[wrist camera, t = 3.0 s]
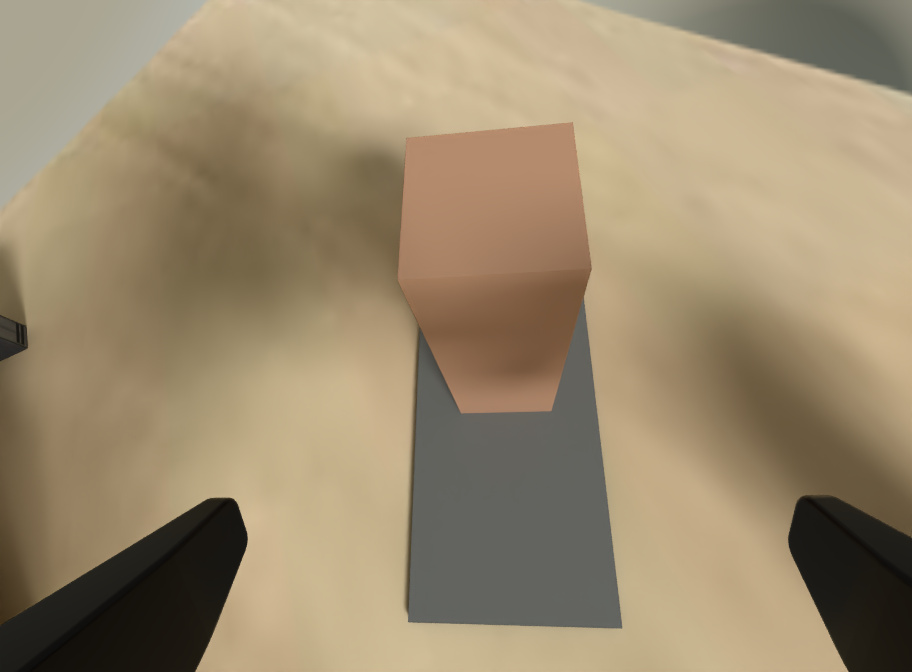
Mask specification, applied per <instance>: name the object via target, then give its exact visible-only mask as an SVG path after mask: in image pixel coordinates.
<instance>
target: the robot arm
mask: <svg viewBox="0 0 912 672" xmlns="http://www.w3.org/2000/svg"><path fill="white" fill-rule="evenodd" d="M247 541H248V536H247V531H246V528H245V525H244V522H243V519H242V516H241V513H240V510H239V507H238V504H237V502H236V501H235V500H234V499H232V498H210V499H207V500H205V501H203V502H202V503H200V504H199V505H197V506H195V507H194V508H192V509H190V510H189V511H187V512H185V513H184V514H182V515H181V516H179V517H177V518H176V519H174V520H172V521H171V522H169V523H167V524H166V525H164V526H163V527H161V528H159V529H158V530H156V531H154V532H153V533H151V534H149V535H148V536H146V537H144V538H143V539H141V540H140V541H138V542H136V543H135V544H133V545H131V546H130V547H128V548H126V549H125V550H123V551H122V552H120V553H118V554H117V555H115V556H113V557H112V558H110V559H108V560H107V561H105V562H104V563H102V564H100V565H99V566H97V567H95V568H94V569H92V570H90V571H89V572H87V573H86V574H84V575H82V576H81V577H79V578H77V579H76V580H74V581H72V582H71V583H69V584H68V585H66V586H64V587H63V588H61V589H59V590H58V591H56V592H54V593H53V594H51V595H50V596H48V597H46V598H45V599H43V600H41V601H40V602H38V603H36V604H35V605H33V606H32V607H30V608H28V609H27V610H25V611H23V612H22V613H20V614H18V615H17V616H15V617H13V618H12V619H10V620H9V621H7V622H5V623H4V624H2V625H0V672H195V671H196V669H197V667H198V665H199V663H200V661H201V659H202V657H203V654H204V652H205V650H206V648H207V646H208V644H209V642H210V639H211V637H212V635H213V632H214V630H215V627H216V625H217V622H218V620H219V617H220V615H221V612H222V610H223V607H224V604H225V602H226V599H227V597H228V594H229V592H230V589H231V586H232V584H233V581H234V579H235V576H236V574H237V571H238V568H239V566H240V563H241V561H242V558H243V555H244V553H245V550H246V547H247ZM788 543H789V548H790V552H791V554H792V557H793V559H794V561H795V563H796V565H797V567H798V569H799V571H800V573H801V576H802V578H803V580H804V582H805V584H806V586H807V588H808V590H809V592H810V594H811V597H812V599H813V601H814V603H815V605H816V607H817V609H818V611H819V613H820V616H821V618H822V620H823V622H824V624H825V626H826V628H827V630H828V632H829V634H830V637H831V639H832V641H833V643H834V645H835V647H836V649H837V651H838V653H839V655H840V657H841V659H842V661H843V663H844V664H845V666H846V668H847V670H848V672H912V538H911V537H910V536H908V535H906V534H904V533H902V532H900V531H898V530H896V529H895V528H893V527H891V526H889V525H887V524H885V523H883V522H881V521H880V520H878V519H876V518H874V517H872V516H870V515H868V514H866V513H865V512H863V511H861V510H859V509H857V508H855V507H853V506H851V505H850V504H848V503H846V502H844V501H842V500H840V499H838V498H836V497H834V496H829V495H805V496H802V497H800V498H799V499H798V500H797V503H796V507H795V511H794V515H793V519H792V523H791V527H790V531H789V536H788Z"/></svg>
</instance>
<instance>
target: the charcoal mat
mask: <svg viewBox="0 0 912 672" xmlns="http://www.w3.org/2000/svg"><path fill="white" fill-rule="evenodd" d="M408 622H416V623H451V624H485V625H519V626H554V627H588V628H622V621H621V613H620V604H619V596H618V587H617V578H616V570H615V561H614V553H613V544H612V536H611V527H610V519H609V510H608V502H607V493H606V484H605V476H604V467H603V459H602V450H601V442H600V433H599V425H598V416H597V408H596V399H595V390H594V382H593V373H592V365H591V356H590V348H589V339H588V331H587V322H586V314H585V305H584V297H583V301H582V304H581V308H580V311H579V315H578V318H577V322H576V325H575V329H574V333H573V336H572V340H571V343H570V347H569V350H568V354H567V357H566V361H565V364H564V368H563V372H562V375H561V379H560V382H559V386H558V389H557V393H556V396H555V400H554V403H553V407H552V411H540V412H498V413H461V412H460V410H459V408H458V406H457V404H456V402H455V400H454V397H453V395H452V393H451V391H450V389H449V387H448V385H447V383H446V381H445V379H444V376H443V374H442V372H441V370H440V368H439V366H438V364H437V362H436V360H435V358H434V355H433V353H432V351H431V349H430V347H429V345H428V343H427V341H426V339H425V337H424V334H423V332H422V330H421V328H420V337H419V363H418V388H417V413H416V438H415V464H414V489H413V514H412V539H411V565H410V590H409V615H408Z"/></svg>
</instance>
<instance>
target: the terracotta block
mask: <svg viewBox="0 0 912 672" xmlns="http://www.w3.org/2000/svg"><path fill="white" fill-rule="evenodd" d="M591 269H592V268H591V261H590V253H589V245H588V237H587V229H586V222H585V214H584V206H583V198H582V190H581V183H580V175H579V167H578V159H577V151H576V144H575V136H574V128H573V122H572V123H561V124H551V125H540V126H529V127H519V128H508V129H498V130H487V131H476V132H466V133H455V134H445V135H434V136H424V137H413V138H407V139H406V155H405V171H404V187H403V202H402V218H401V234H400V250H399V265H398V282H399V284H400V286H401V288H402V290H403V292H404V295H405V297H406V299H407V301H408V303H409V305H410V307H411V309H412V311H413V313H414V316H415V318H416V320H417V322H418V324H419V326H420V328H421V330H422V332H423V334H424V337H425V339H426V341H427V343H428V345H429V347H430V349H431V351H432V353H433V355H434V358H435V360H436V362H437V364H438V366H439V368H440V370H441V372H442V374H443V376H444V379H445V381H446V383H447V385H448V387H449V389H450V391H451V393H452V395H453V397H454V400H455V402H456V404H457V406H458V408H459V410H460V412H461V413H498V412H540V411H552V407H553V403H554V400H555V396H556V393H557V389H558V386H559V382H560V379H561V375H562V372H563V368H564V364H565V361H566V357H567V354H568V350H569V347H570V343H571V340H572V336H573V333H574V329H575V325H576V322H577V318H578V315H579V311H580V308H581V304H582V301H583V297H584V294H585V290H586V286H587V283H588V279H589V276H590V272H591Z"/></svg>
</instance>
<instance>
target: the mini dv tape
mask: <svg viewBox="0 0 912 672" xmlns="http://www.w3.org/2000/svg"><path fill="white" fill-rule="evenodd" d="M27 348H28V347H27V331H26V326H25V325H22V324H20V323H17V322H15V321H13V320H10V319H8V318H6V317H3V316H1V315H0V361H1V360H4V359H6V358H8V357H10V356H12V355H14V354H17V353H19V352H21V351H23V350H25V349H27Z"/></svg>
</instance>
